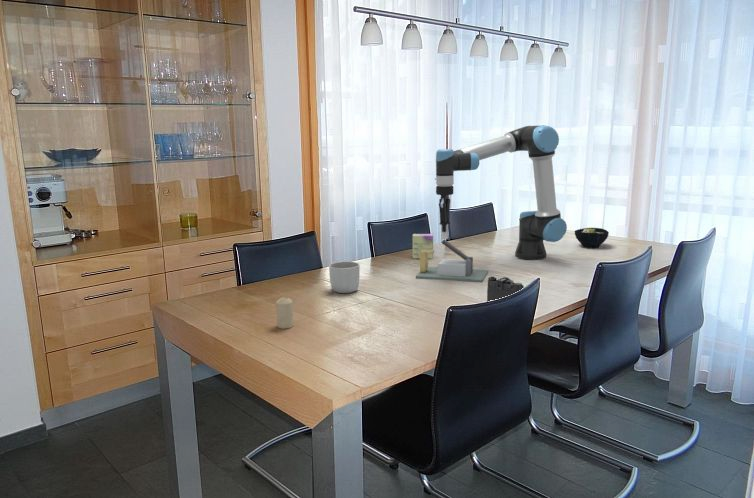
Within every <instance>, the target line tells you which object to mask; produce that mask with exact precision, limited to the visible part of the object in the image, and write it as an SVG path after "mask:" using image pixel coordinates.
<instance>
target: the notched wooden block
mask: <svg viewBox="0 0 754 498" xmlns="http://www.w3.org/2000/svg"><path fill="white" fill-rule="evenodd" d="M434 253H435V250H434V249H433V250H422V251H421V252H420V258H419V272H426V271H427V270H428V267H429V259H428V254H433V255H434Z"/></svg>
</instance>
